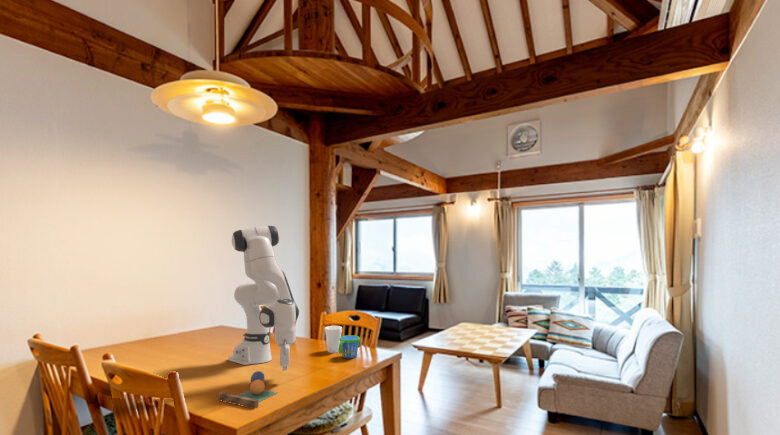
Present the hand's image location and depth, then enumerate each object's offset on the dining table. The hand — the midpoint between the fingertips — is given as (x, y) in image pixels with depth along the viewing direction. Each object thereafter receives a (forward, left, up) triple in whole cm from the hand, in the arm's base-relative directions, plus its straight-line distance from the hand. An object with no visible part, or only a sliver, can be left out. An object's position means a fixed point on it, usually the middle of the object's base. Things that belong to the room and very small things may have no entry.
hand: (284, 369), depth 169 cm
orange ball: (0, -16, -2) cm, 16 cm away
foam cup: (-8, +51, -5) cm, 52 cm away
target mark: (0, -17, -5) cm, 18 cm away
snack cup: (+6, +45, -6) cm, 46 cm away
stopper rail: (0, -26, -5) cm, 26 cm away
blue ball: (-8, -8, -2) cm, 11 cm away
